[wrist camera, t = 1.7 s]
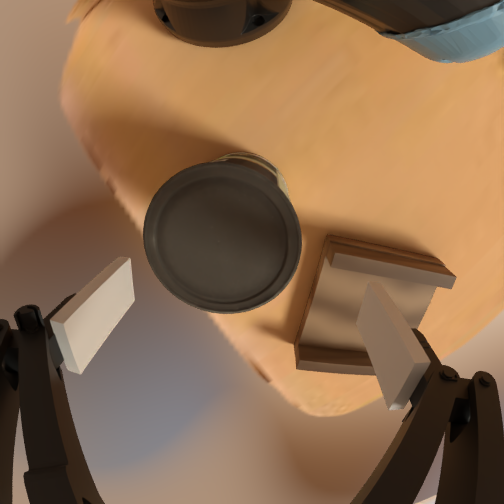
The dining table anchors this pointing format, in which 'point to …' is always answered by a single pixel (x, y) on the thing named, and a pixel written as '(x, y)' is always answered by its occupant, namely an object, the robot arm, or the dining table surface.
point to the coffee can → (224, 234)
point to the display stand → (360, 300)
